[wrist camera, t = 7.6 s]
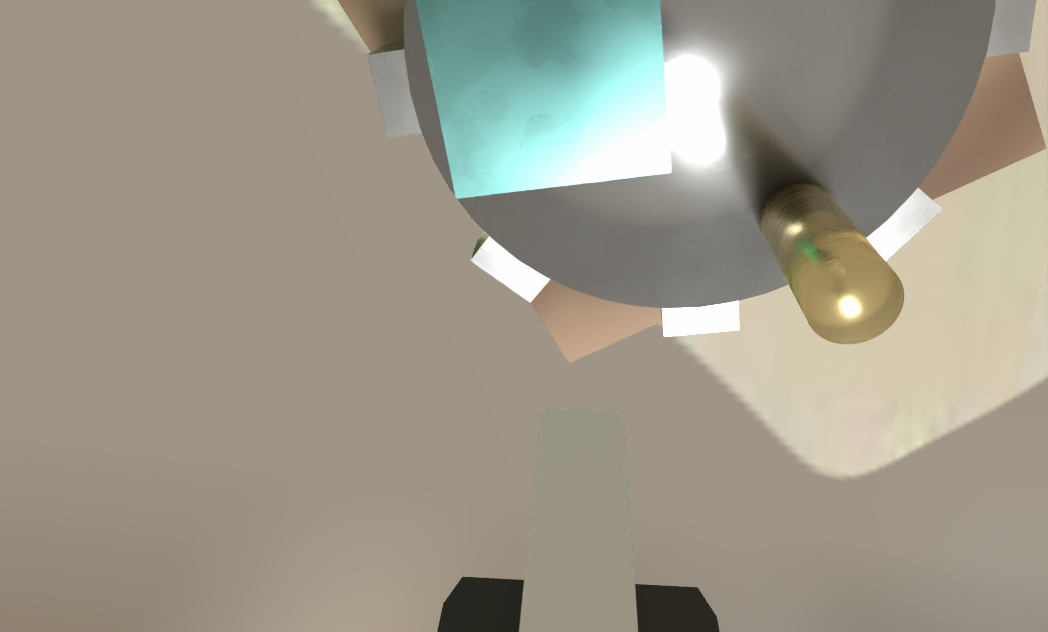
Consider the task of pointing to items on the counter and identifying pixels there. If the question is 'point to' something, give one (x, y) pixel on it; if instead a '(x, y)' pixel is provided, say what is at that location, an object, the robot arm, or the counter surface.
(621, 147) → the turntable
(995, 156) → the base board
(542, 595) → the robot arm
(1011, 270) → the counter surface
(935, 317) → the counter surface
